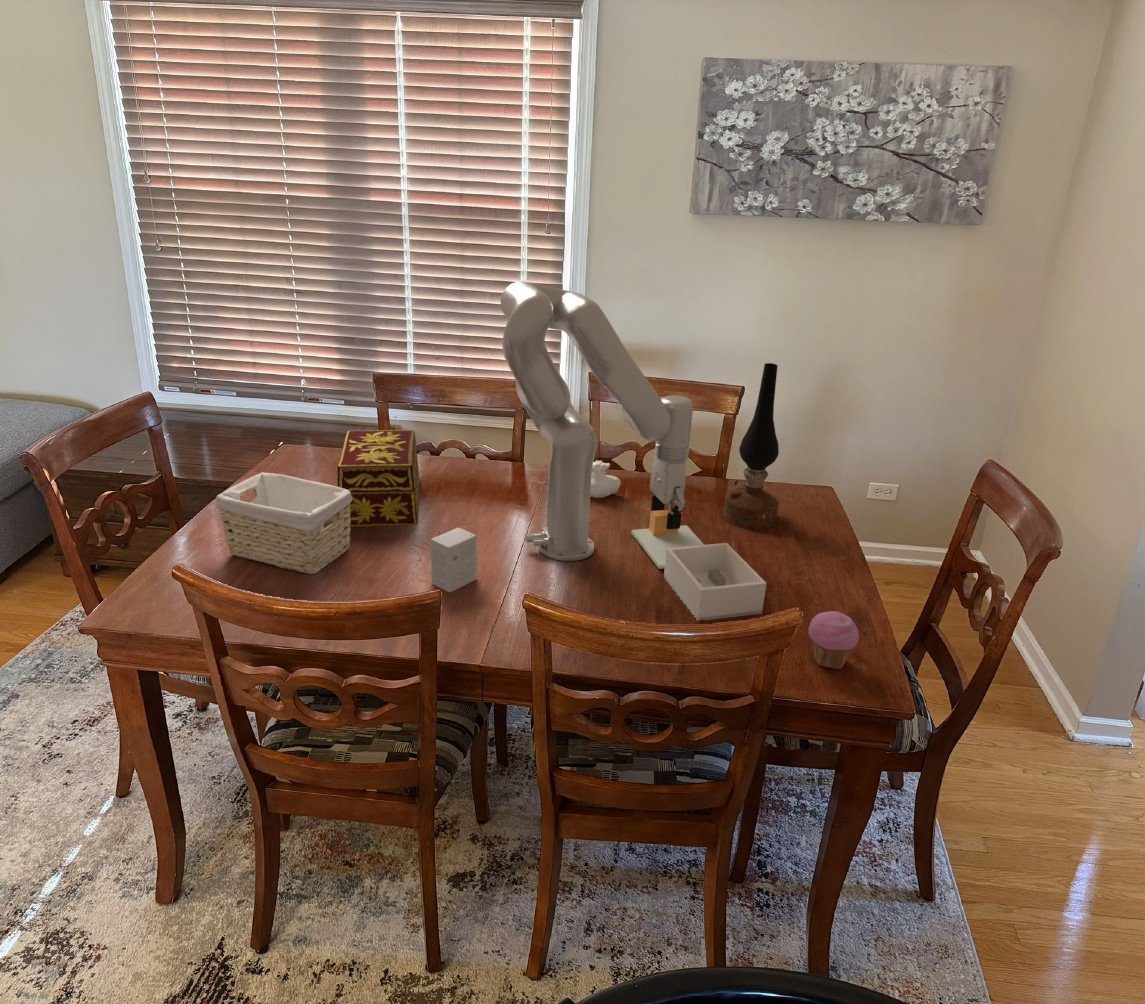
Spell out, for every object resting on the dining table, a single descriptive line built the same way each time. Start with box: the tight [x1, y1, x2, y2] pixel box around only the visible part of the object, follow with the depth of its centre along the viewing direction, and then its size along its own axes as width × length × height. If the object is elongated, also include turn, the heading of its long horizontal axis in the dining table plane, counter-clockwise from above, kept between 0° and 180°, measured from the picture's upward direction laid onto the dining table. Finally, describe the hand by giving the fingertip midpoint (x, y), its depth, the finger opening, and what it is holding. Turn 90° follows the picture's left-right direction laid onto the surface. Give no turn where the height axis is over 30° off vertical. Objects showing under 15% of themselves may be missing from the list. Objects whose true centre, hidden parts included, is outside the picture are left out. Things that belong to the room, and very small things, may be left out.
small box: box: [430, 527, 478, 593], centre depth 172 cm, size 8×6×10 cm
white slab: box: [631, 509, 705, 570], centre depth 191 cm, size 18×14×7 cm
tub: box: [663, 542, 767, 622], centre depth 173 cm, size 18×14×7 cm
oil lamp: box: [721, 362, 780, 530], centre depth 204 cm, size 14×15×40 cm
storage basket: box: [215, 472, 352, 575], centre depth 180 cm, size 24×16×15 cm
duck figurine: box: [590, 459, 622, 499], centre depth 217 cm, size 12×8×11 cm
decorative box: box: [336, 429, 421, 528], centre depth 207 cm, size 28×19×15 cm
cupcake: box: [807, 610, 860, 670], centre depth 151 cm, size 9×9×10 cm
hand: (665, 519), depth 196 cm, fingers open, 9 cm apart
